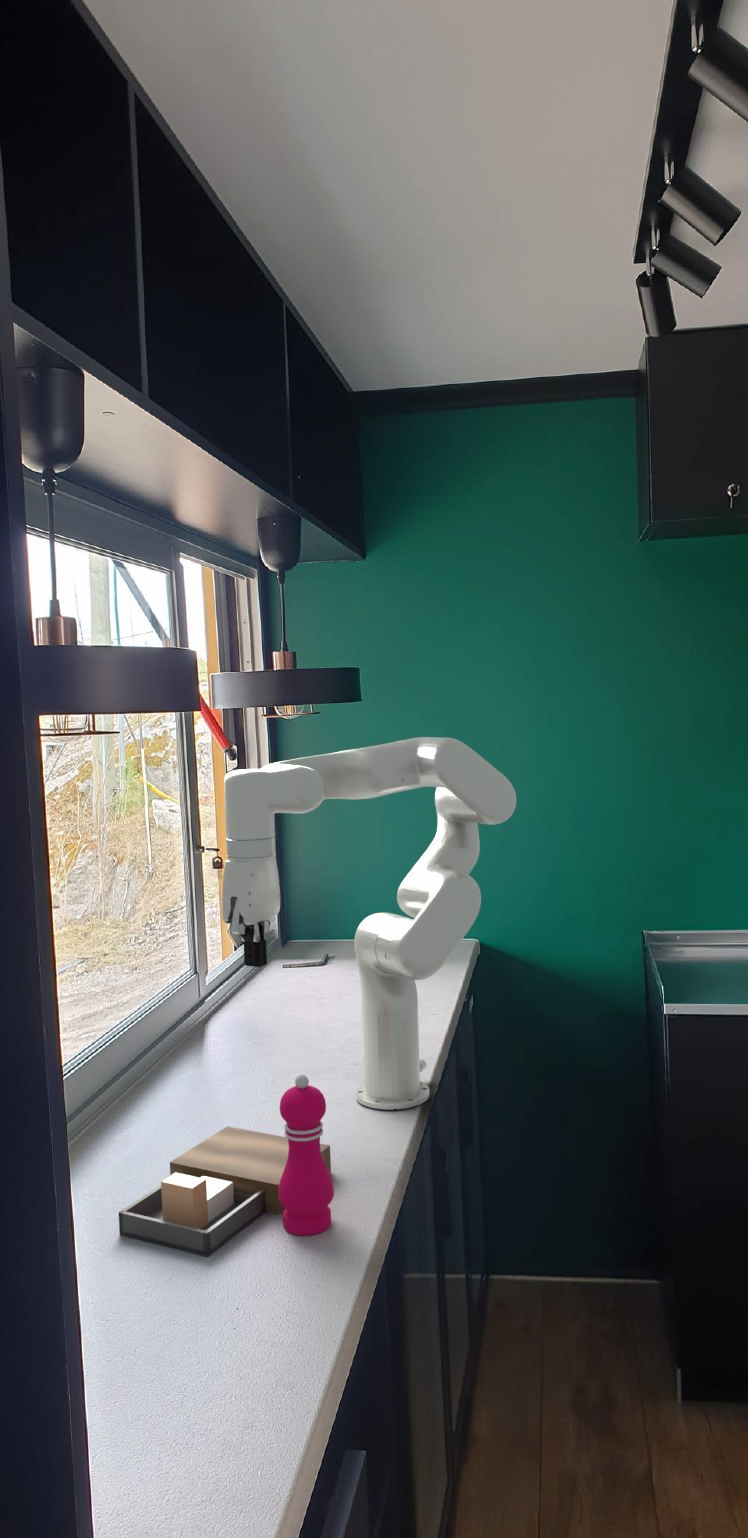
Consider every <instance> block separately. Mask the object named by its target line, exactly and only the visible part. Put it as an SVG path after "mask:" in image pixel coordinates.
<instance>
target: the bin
mask: <svg viewBox="0 0 748 1538" xmlns="http://www.w3.org/2000/svg"><path fill="white" fill-rule="evenodd" d="M180 1174H184V1173H181V1172H180ZM233 1194H234V1204H233V1205H231V1206H230V1207H229V1208H227V1209H226V1210H225V1211H223V1212H222V1213H221V1214H219V1215H218V1216H217V1217H215V1218H214V1219H212V1220H211V1221H210V1222H208V1224H207V1225H206V1226H204V1227H203V1228H202V1229H197V1228H193V1227H189V1226H184V1225H180V1224H176V1223H172V1222H168V1221H164V1220H163V1212H162V1190H161V1184H160V1185H158V1186H157V1187H155V1188H154V1189H153V1190H151V1191H149V1192H148V1193H147V1194H145V1195H143V1196H142V1197H140V1198H138V1199H137V1200H136V1201H134V1202H132V1203H131V1204H129V1205H128V1206H126V1207H125V1208H122V1210H120V1211H118V1227H119V1235H120V1236H124V1237H125V1238H126V1237H127V1238H131V1239H134V1240H139V1241H142V1242H147V1243H150V1244H154V1245H159V1246H162V1247H166V1248H171V1249H175V1250H178V1251H182V1252H187V1253H191V1254H195V1255H198V1256H202V1257H206V1258H209V1257H210V1256H211V1255H213V1254H214V1253H216V1251H218V1250H219V1249H220V1248H221V1247H223V1246H224V1245H225V1244H227V1243H228V1242H229V1241H230V1240H232V1239H233V1238H234V1237H236V1236H237V1235H238V1234H239V1233H241V1232H242V1231H243V1230H245V1229H246V1228H247V1227H248V1226H249V1225H251V1224H252V1223H254V1221H256V1220H257V1219H258V1218H260V1217H261V1216H262V1215H264V1214H265V1213H266V1211H265V1192H264V1190H259V1191H258V1192H257V1193H255V1194H254V1195H250V1194H246V1193H241V1192H237V1191H233Z"/></svg>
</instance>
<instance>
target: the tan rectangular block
mask: <svg viewBox="0 0 748 1538" xmlns="http://www.w3.org/2000/svg"><path fill="white" fill-rule="evenodd" d="M160 1185H161V1190H162V1212H163V1220H164V1221H168V1222H172V1223H176V1224H180V1225H184V1226H189V1227H193V1228H197V1229H202V1228H203V1227H204V1226H206V1225H207V1224H208V1208H207V1186H206V1179H204V1178H199V1177H194V1176H190V1175H185V1174H180V1173H176V1172H175V1173H174V1174H172V1175H171V1176H170V1175H169V1176H168V1177H166V1178H164V1179H163V1180H161V1181H160Z"/></svg>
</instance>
